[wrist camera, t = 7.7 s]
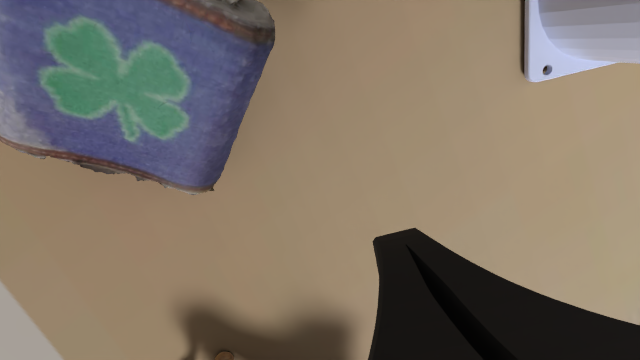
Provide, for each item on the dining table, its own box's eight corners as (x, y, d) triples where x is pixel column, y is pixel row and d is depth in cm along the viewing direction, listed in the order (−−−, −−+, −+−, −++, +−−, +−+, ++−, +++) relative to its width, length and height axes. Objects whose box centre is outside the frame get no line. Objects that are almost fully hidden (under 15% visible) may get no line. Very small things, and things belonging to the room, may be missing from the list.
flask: (-21, 145, 14) (-104, -226, 7) (19, 103, 16) (-17, -214, 9) (213, 203, 17) (305, -15, 10) (221, 162, 19) (302, -40, 13)
